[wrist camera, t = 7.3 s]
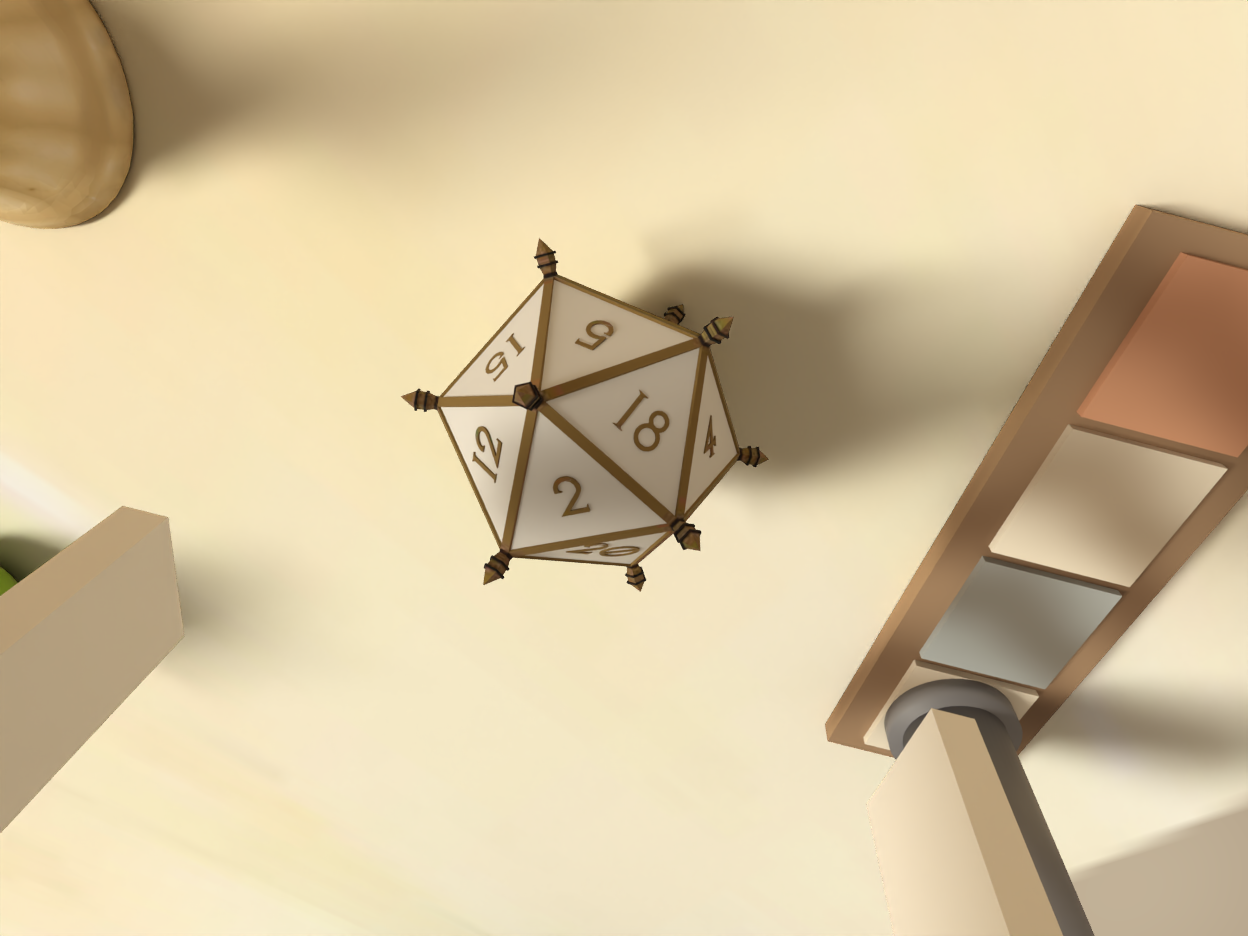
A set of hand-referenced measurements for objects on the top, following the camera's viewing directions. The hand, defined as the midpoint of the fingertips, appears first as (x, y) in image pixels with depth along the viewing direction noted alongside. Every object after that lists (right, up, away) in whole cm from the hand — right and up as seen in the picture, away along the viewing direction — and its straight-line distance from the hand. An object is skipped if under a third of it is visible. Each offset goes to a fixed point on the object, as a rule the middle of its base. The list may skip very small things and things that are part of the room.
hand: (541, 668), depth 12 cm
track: (+15, +1, +11) cm, 19 cm away
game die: (+1, +7, +10) cm, 12 cm away
